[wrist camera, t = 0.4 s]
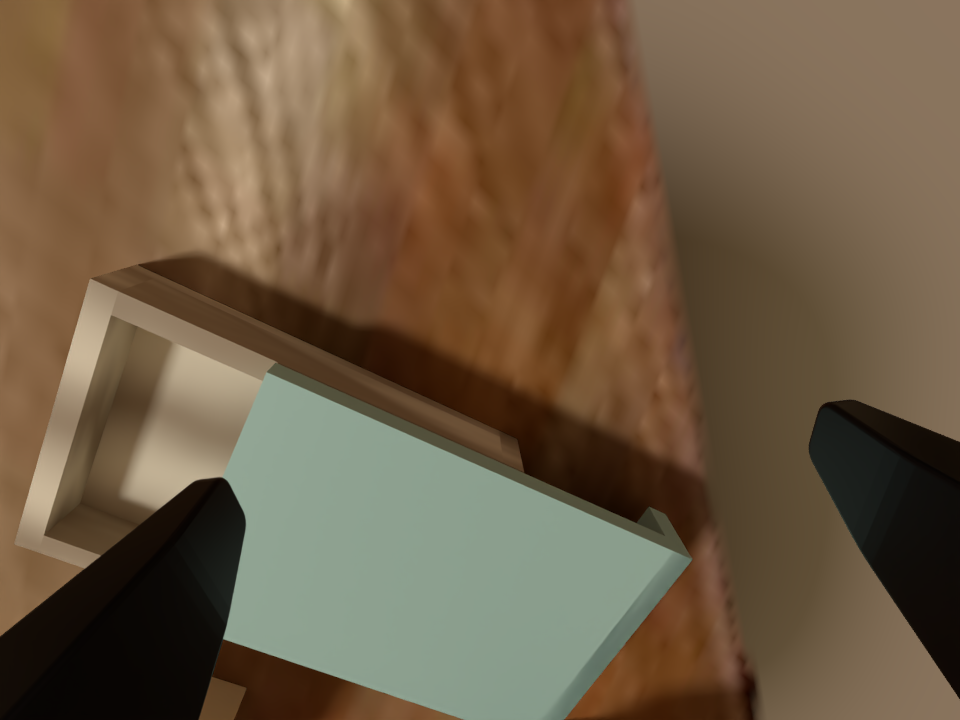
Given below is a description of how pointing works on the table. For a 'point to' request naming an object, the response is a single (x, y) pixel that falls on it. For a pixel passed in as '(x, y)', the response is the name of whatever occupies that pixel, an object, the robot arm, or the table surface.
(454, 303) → the table surface
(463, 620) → the lid
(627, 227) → the table surface
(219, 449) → the box
